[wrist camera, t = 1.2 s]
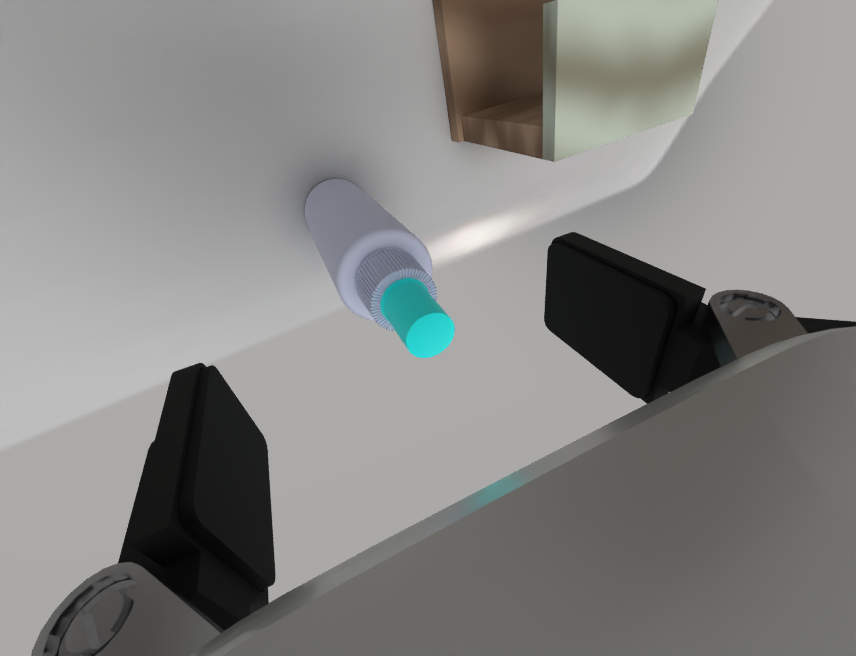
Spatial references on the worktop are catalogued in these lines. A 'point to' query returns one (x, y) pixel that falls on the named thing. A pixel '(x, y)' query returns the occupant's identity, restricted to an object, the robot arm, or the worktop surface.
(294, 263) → the worktop surface
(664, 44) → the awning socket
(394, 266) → the spray bottle
